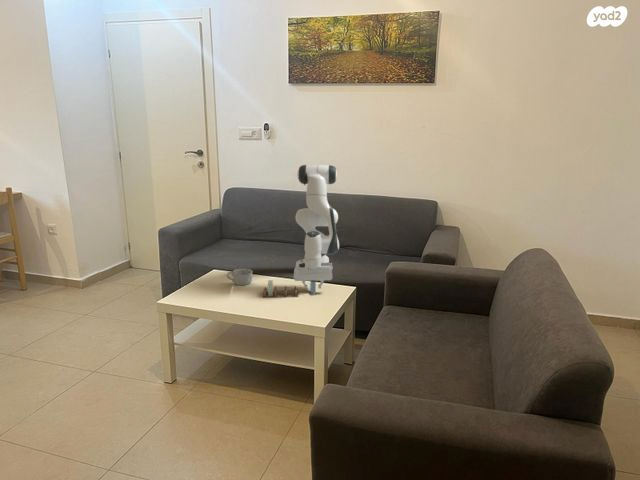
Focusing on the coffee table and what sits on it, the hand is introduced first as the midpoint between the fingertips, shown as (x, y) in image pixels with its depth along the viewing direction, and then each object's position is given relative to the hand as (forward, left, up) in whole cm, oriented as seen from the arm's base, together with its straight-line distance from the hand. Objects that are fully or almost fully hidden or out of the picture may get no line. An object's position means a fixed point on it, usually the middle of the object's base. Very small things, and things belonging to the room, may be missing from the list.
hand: (312, 288), depth 246 cm
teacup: (-17, -39, -3) cm, 43 cm away
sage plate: (+4, -22, -1) cm, 23 cm away
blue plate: (0, 0, -2) cm, 2 cm away
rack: (+4, -17, -2) cm, 18 cm away
